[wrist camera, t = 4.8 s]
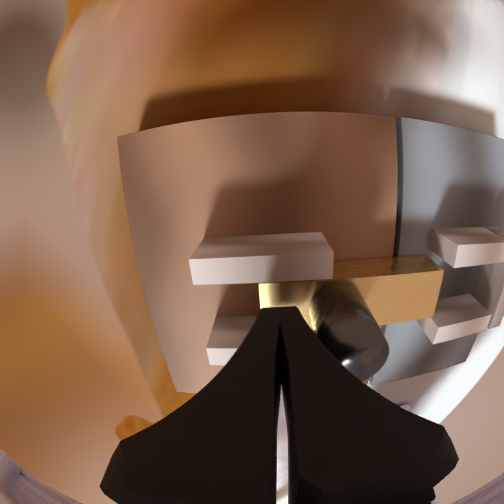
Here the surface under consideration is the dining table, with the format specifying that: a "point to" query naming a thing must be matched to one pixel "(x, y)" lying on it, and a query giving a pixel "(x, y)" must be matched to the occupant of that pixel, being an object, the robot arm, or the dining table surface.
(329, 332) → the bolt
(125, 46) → the dining table surface
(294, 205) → the two-tone tabbed panel
